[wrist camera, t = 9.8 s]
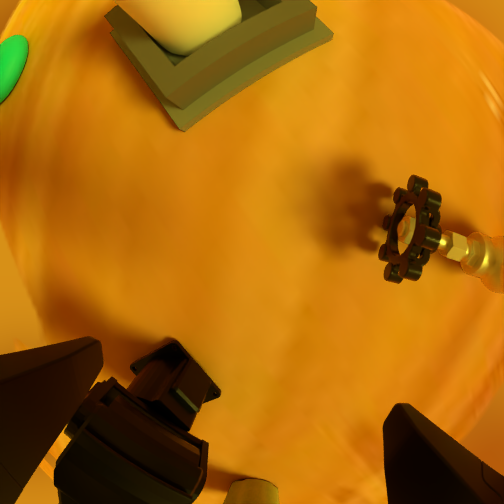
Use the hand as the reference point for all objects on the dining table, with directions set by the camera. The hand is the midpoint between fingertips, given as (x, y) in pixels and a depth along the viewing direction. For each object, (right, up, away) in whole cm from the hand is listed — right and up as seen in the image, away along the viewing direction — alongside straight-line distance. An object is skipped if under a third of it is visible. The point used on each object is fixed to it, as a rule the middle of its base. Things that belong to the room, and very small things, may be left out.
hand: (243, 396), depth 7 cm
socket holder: (-3, +21, +9) cm, 23 cm away
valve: (+15, +5, +11) cm, 19 cm away
